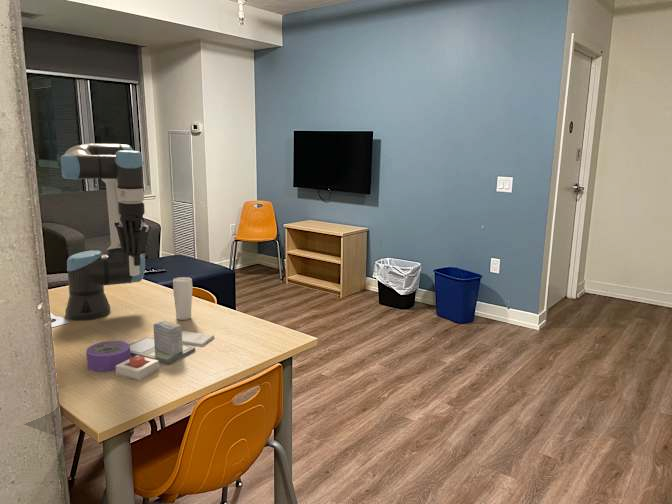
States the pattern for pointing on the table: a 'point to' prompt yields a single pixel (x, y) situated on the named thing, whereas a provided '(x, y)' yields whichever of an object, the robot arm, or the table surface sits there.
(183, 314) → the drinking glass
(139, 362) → the button
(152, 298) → the table surface
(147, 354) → the picture board
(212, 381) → the table surface
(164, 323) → the medicine box
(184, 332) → the external hard drive
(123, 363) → the button housing
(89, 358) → the tape roll
